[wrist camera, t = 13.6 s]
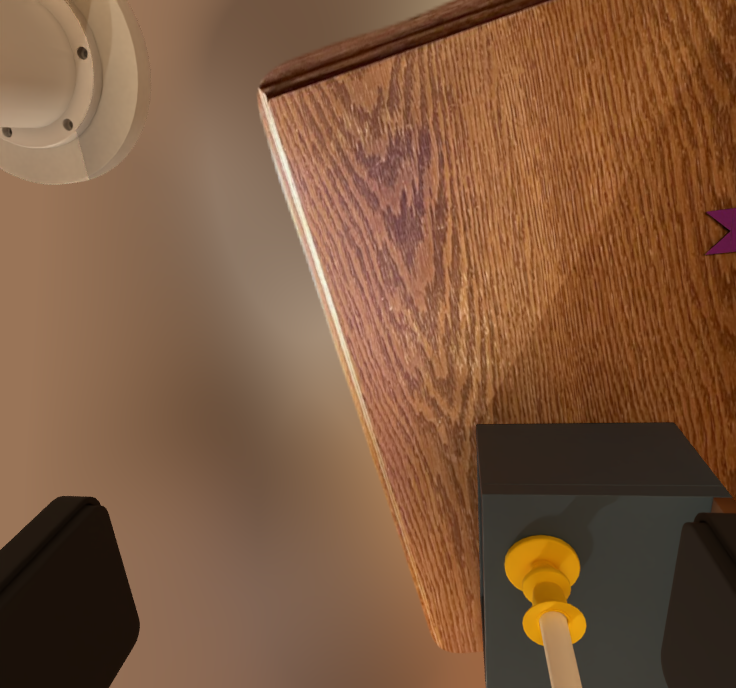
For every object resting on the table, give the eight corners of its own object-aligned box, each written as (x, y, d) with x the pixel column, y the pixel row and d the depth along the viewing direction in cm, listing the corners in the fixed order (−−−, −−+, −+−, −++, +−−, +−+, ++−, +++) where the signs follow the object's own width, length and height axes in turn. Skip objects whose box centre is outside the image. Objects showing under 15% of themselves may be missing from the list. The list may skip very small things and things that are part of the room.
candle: (515, 596, 41) (551, 849, 26) (495, 542, 39) (520, 778, 25) (586, 584, 39) (665, 842, 25) (568, 527, 38) (640, 767, 23)
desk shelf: (480, 600, 54) (489, 747, 41) (476, 423, 47) (485, 532, 34) (652, 608, 51) (720, 767, 38) (674, 421, 44) (765, 539, 32)
